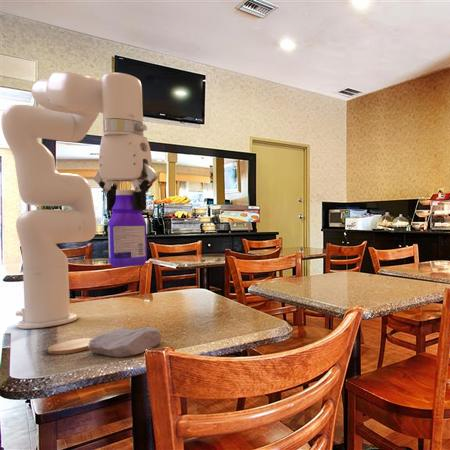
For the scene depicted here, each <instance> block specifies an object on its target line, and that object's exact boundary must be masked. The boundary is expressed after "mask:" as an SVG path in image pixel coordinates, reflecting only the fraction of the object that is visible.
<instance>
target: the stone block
mask: <svg viewBox="0 0 450 450" xmlns="http://www.w3.org/2000/svg"><path fill="white" fill-rule="evenodd" d="M92 338H93V339H92V340H90V342H89V345H88V349H87V350H89V351H90V352H91V353H93V354H99V355H103V356H106V357H114V358H115V357H116V358H124V357H125V358H127V357H133V356H135V355H139V354H143V353H145V352H144V351H145V350H146V349H148V348H151V349H154V348H155V347H157V346H159V345H160V344H161V341H162V334H161V332H160V330H159V328H157V327H155V326H145V327H140V328H136V329H128V328H126V327H119V328H117V329H113V330H112V331H105V332H103V333H100V334H97V335H96V336H94V337H92ZM153 347H154V348H153Z"/></svg>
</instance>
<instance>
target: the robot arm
mask: <svg viewBox="0 0 450 450" xmlns="http://www.w3.org/2000/svg"><path fill="white" fill-rule="evenodd" d="M31 97H32V98H33V100H34V101H35V102H36V103H37V104H38V105H39V106H35V105H29V104H13V105H8V106H7V107H5V108H4V110H3V111H2V114H1V130H2V134H3V137H4V139H5V142H6V144H7V146H8V147H9V149H10V152H11V154H12V156H13V159H14V166H15V174H16V180H17V188H18V192H19V197H20V200H22V202H23V203H25V204H26V205H30V206H36V207H37V206H39V207H68V209H33V210H28V211H24V212H23V213H21V214H20V215H19V216H18V217H17V218H16V223H15V226H16V228H15V229H16V232H17V237H18V240H19V244H20V250H21V259H22V279H23V303H24V304H23V305H24V307H23V308H21V309H20V310H18V311H16V312H15V316H17V317H22V320H19V321H18V322H17V328H19V329H22V330H23V329H24V330H27V329H28V330H29V329H30V330H31V329H43V328H49V327H55V326H61V325H65V324H68V323H73V322H75V321H76V320H77V319H78V315H77V314H76V313H71V303H70V279H69V259H68V256H67V255H66V253H65V252H64V251H62V249H61V248H60V247H59V246H58V244H68V243H82V242H83V243H84V242H89V241H91V240H92V239H94V237H95V236H96V234H97V219H96V212H95V205H94V199H93V192H92V188H91V185H90V183H89V181H88V180H87V178H85V177H84V176H83V175H79V174H75V173H64V172H63V173H61V172H59V171H57V166H56V160H55V156H54V155H53V153H52V151H50V150H49V148H47V147H46V146H45V144H43V143H42V142H41V141H40V140H38V139H43V140H44V139H45V140H51V141H60V142H68V143H79V142H80V141H82V140H83V139H84V138H85V137H86V136H87V134H88V132H89V131H90V129H91V128H92V126H93V124H94V123H95V122H96V120H97V119H98V116H99V114H102V126H103V135H102V136H101V140H100V144H99V153H98V157H99V158H98V171H97V172H96V173H94V175H93V177H92V178H93V181H95V182H96V183H97V184H98V186H99V187H100V188H101V189H102V192H103V193H104V194H106V195H105V196H106V210H107V211H108V212H113V211H112V208H113V206H114V204H115V201H116V190H120V185H121V183H123V182H131V183H132V186H133V188H134V189H133V190H135V191H136V192H133V209H134V210H142V211H146V210H147V193H149V190H150V189H151V187H152V186H153V184H154V183H155V182H156V181H157V180H158V178H159V174H158V173H157V172H156V171H155V170H154V167H153V158H152V151H151V147H150V142H149V140H148V138H147V136H145V135H144V131H147V129H148V127H147V125H146V124H144V113H143V111H144V109H143V86H142V83H141V80H140V79H139V78H137V77H136V76H133V75H131V74H128V73H123V72H107V73H105V74H104V75H102V77H101V78H97V77H92V76H88V75H85V74H79V73H77V72H68V71H54V72H53V73H51V74H50V76H49V77H44V78H41V79H39V80H37V81H35V82H34V83H33V84H32V86H31Z"/></svg>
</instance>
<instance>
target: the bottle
mask: <svg viewBox="0 0 450 450" xmlns="http://www.w3.org/2000/svg"><path fill="white" fill-rule="evenodd" d="M133 192H136V191H135V189H118V190H116V201H115V204H114V206H113V208H112V211H111V212H112V214H111V216H110V218H109V220H108V223H107V238H108V261H109V265H110V266H112V267H113V268H128V267H140V266H144V265H145V264H146V263H147V258H148V241H147V237H148V236H147V221H146V220H145V217H144V216H143V214H142V211H143V210H134V209H133Z"/></svg>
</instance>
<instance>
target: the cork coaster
mask: <svg viewBox="0 0 450 450" xmlns="http://www.w3.org/2000/svg"><path fill="white" fill-rule="evenodd" d="M93 338H94V337H84V338H83V337H82V338H75V339H70V340H65V341H61V342H58V343H55V344H52V345H50V346H49V347H48V348H47V353H48V354H50V355H67V354H73V353H79V352H84V351H87V350H89V349H88V345H89V342H90V340H92V339H93Z"/></svg>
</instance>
